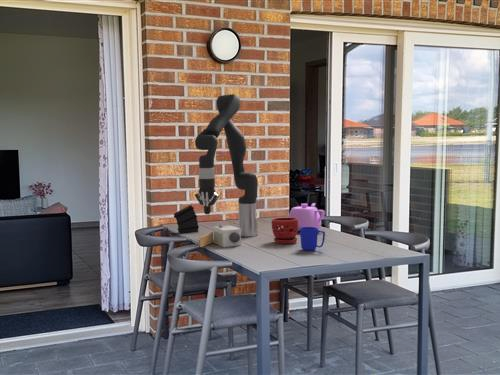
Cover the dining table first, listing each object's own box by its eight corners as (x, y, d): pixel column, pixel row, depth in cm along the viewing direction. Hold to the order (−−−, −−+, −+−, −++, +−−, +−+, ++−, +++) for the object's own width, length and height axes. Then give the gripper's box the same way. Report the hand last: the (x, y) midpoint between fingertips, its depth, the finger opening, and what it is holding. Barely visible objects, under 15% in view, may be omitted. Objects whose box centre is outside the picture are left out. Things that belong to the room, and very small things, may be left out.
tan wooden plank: (213, 242, 285) (213, 232, 285) (201, 247, 272) (201, 236, 272) (210, 242, 286) (210, 232, 285) (198, 247, 273) (198, 236, 272)
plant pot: (300, 240, 289) (300, 216, 287) (295, 245, 276) (295, 220, 275) (275, 239, 292) (274, 216, 291) (268, 244, 279) (268, 219, 278)
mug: (320, 253, 257) (320, 230, 256) (296, 250, 264) (296, 228, 263) (328, 249, 264) (328, 228, 263) (304, 247, 271) (304, 226, 270)
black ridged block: (204, 229, 317) (192, 205, 314) (183, 240, 314) (170, 216, 311) (202, 228, 320) (190, 204, 317) (181, 239, 317) (169, 215, 314)
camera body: (230, 240, 289) (230, 223, 288) (242, 245, 276) (242, 227, 275) (213, 242, 285) (212, 225, 284) (224, 247, 272) (224, 229, 271)
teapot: (318, 234, 306) (318, 206, 304) (283, 231, 316) (283, 204, 315) (335, 228, 325) (335, 202, 324) (301, 225, 336) (301, 200, 335)
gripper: (222, 177, 270) (223, 213, 272) (199, 176, 277) (200, 212, 278) (214, 178, 264) (214, 215, 265) (190, 177, 270) (191, 214, 272)
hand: (207, 214), depth 272 cm, fingers closed
